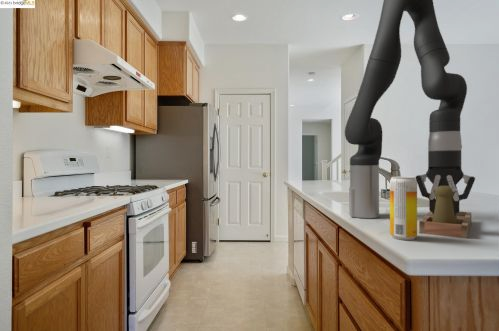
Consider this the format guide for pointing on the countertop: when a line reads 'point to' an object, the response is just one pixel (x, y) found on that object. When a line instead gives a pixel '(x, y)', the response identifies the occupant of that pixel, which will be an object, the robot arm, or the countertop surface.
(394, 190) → the beer can
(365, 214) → the robot arm
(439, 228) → the rail
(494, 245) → the countertop surface
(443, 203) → the cork
